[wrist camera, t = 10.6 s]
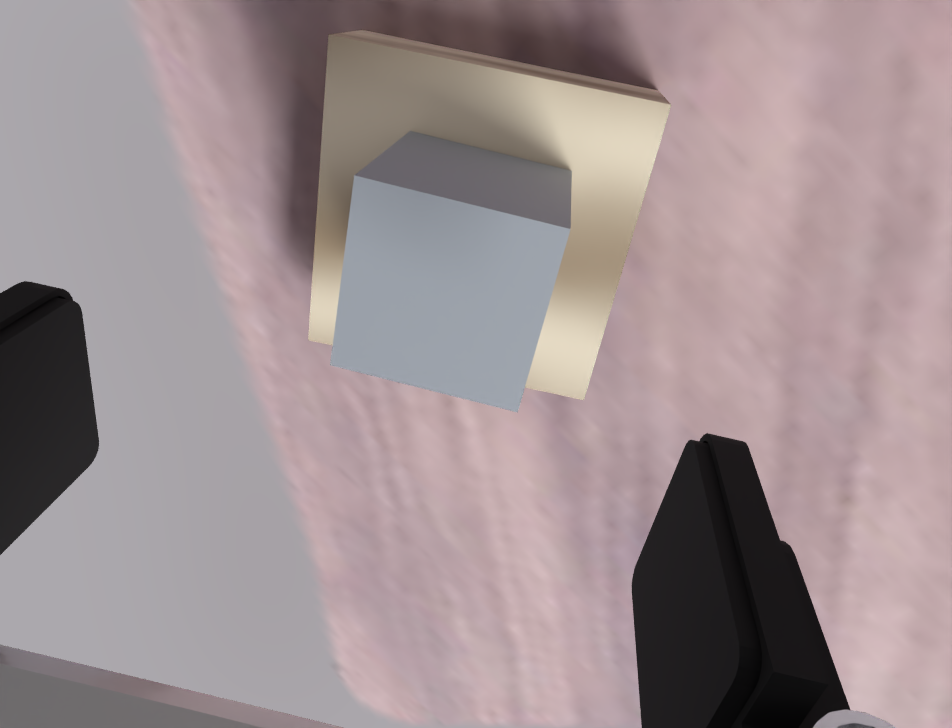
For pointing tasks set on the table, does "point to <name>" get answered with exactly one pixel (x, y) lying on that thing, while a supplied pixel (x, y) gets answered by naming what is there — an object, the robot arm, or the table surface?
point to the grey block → (450, 268)
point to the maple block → (504, 131)
